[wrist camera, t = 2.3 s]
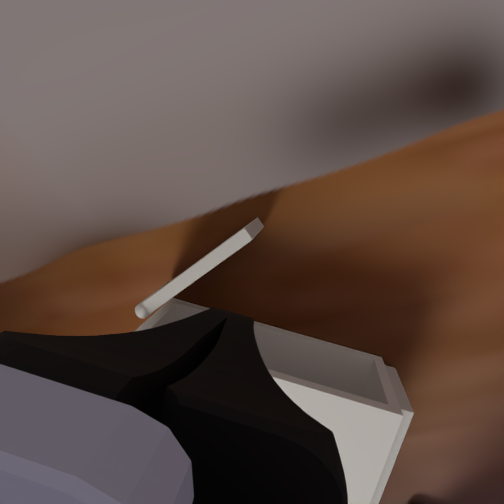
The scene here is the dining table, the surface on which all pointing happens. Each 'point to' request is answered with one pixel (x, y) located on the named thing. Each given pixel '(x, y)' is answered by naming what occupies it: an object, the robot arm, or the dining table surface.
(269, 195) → the dining table surface
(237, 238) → the flap
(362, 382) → the carton
